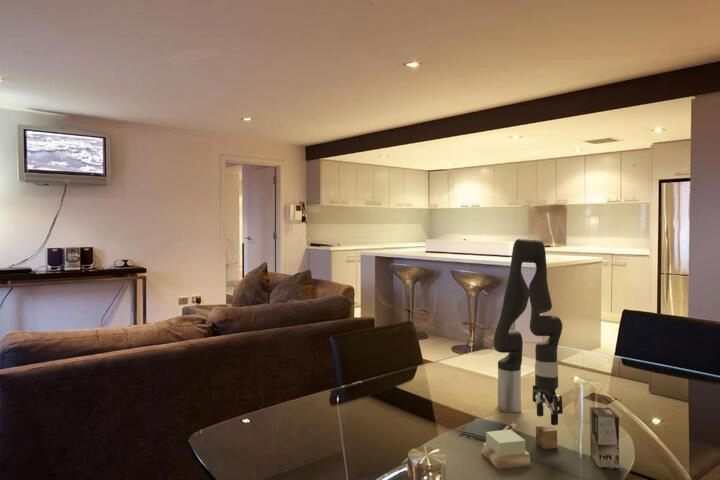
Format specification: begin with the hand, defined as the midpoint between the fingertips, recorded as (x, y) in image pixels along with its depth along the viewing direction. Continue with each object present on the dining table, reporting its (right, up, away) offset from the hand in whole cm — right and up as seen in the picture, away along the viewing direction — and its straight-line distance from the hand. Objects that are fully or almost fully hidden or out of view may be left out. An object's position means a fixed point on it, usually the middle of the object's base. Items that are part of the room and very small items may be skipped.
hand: (547, 420), depth 165 cm
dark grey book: (-18, -10, +13) cm, 24 cm away
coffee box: (+13, -9, -12) cm, 20 cm away
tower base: (-18, -9, -10) cm, 22 cm away
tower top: (-18, -5, -10) cm, 21 cm away
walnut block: (0, -9, 0) cm, 9 cm away
